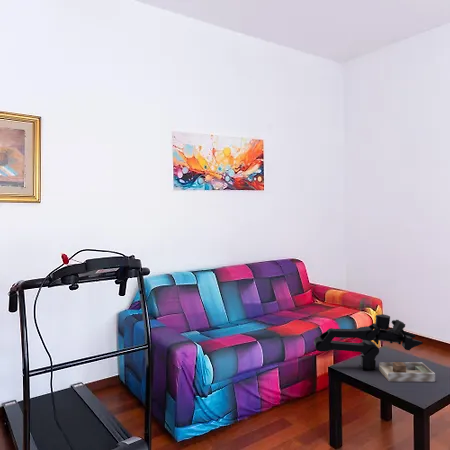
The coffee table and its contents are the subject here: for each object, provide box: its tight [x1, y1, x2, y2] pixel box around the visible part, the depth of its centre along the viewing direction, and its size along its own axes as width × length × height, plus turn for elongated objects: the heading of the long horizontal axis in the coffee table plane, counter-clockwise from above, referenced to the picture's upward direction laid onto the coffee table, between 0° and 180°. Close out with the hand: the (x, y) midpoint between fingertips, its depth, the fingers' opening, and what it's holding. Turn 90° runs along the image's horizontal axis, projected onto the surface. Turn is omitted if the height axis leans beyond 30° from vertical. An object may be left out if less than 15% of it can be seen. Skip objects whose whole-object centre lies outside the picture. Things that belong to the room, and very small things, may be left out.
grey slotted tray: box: [378, 361, 436, 383], centre depth 198 cm, size 22×13×4 cm, turn 89°
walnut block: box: [393, 361, 406, 373], centre depth 195 cm, size 4×4×4 cm
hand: (418, 339), depth 204 cm, fingers open, 9 cm apart
